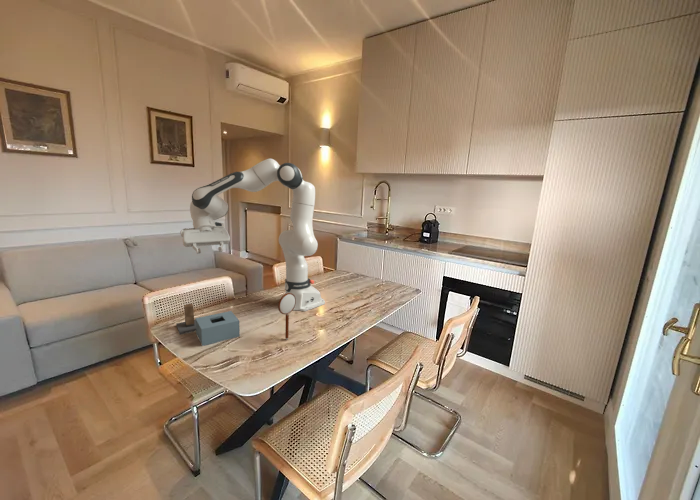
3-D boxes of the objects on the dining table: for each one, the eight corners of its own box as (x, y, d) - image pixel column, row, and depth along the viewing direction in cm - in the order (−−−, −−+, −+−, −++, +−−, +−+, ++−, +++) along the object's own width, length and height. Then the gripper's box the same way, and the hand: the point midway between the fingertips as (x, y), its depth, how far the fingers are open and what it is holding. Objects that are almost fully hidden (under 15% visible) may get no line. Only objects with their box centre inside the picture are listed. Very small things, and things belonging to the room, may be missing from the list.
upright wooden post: (193, 322, 128) (192, 303, 126) (194, 325, 125) (193, 305, 124) (185, 324, 126) (184, 304, 124) (186, 327, 124) (185, 307, 122)
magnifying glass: (293, 335, 124) (294, 290, 120) (296, 336, 123) (297, 291, 119) (277, 342, 117) (277, 295, 113) (279, 344, 116) (280, 296, 112)
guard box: (231, 325, 129) (231, 310, 128) (239, 336, 121) (239, 320, 119) (196, 334, 121) (195, 318, 119) (202, 346, 112) (201, 329, 111)
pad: (199, 320, 132) (199, 318, 132) (203, 328, 125) (203, 326, 125) (176, 325, 127) (176, 323, 126) (179, 334, 120) (179, 332, 119)
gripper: (180, 224, 133) (185, 250, 128) (227, 223, 146) (233, 246, 140) (179, 232, 138) (184, 257, 132) (224, 231, 150) (231, 253, 145)
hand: (210, 251), depth 136 cm, fingers open, 8 cm apart
